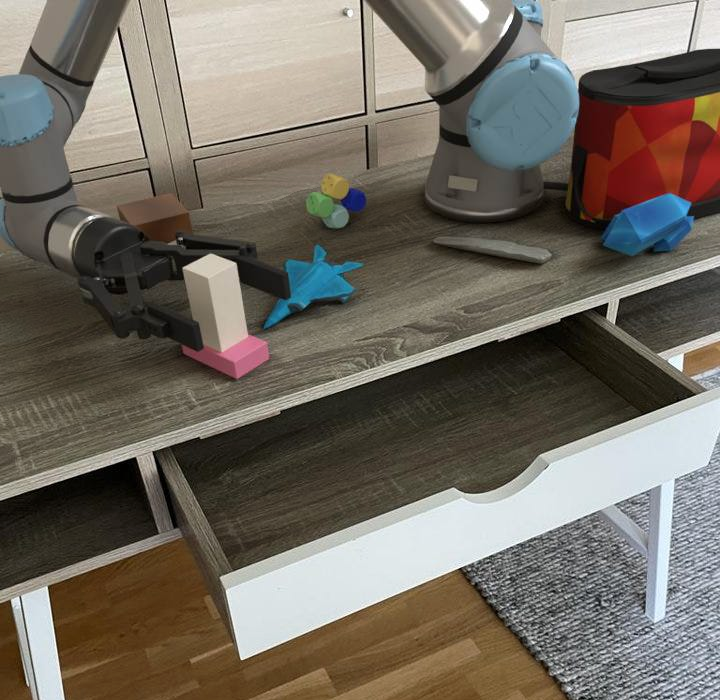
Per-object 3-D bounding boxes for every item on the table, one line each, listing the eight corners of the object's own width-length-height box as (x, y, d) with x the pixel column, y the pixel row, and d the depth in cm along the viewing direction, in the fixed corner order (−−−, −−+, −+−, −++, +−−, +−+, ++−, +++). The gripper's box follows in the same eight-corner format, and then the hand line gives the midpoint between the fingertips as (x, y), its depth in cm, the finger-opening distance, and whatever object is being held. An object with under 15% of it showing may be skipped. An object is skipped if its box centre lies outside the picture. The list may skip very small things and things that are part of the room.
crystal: (719, 244, 96) (624, 289, 95) (673, 229, 103) (585, 271, 103) (709, 179, 92) (610, 226, 91) (662, 169, 99) (571, 212, 99)
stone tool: (558, 245, 99) (544, 256, 96) (557, 257, 100) (542, 268, 96) (446, 228, 105) (428, 238, 101) (445, 240, 106) (428, 250, 102)
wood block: (179, 230, 111) (171, 192, 107) (196, 251, 106) (188, 212, 102) (126, 243, 108) (116, 205, 105) (141, 265, 104) (131, 226, 100)
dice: (356, 211, 112) (353, 162, 108) (369, 217, 110) (366, 167, 106) (306, 230, 109) (301, 179, 104) (318, 236, 107) (313, 186, 103)
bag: (719, 159, 118) (748, 27, 108) (796, 193, 109) (836, 52, 98) (532, 204, 110) (543, 66, 100) (597, 246, 100) (617, 98, 90)
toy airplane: (291, 277, 99) (286, 243, 96) (374, 280, 97) (371, 245, 95) (263, 330, 91) (256, 295, 88) (353, 334, 89) (350, 298, 86)
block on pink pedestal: (269, 359, 86) (256, 267, 80) (237, 379, 84) (220, 286, 77) (215, 334, 90) (199, 245, 84) (183, 353, 88) (163, 263, 81)
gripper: (191, 243, 101) (330, 296, 90) (18, 328, 88) (156, 402, 77) (178, 180, 96) (324, 228, 85) (-6, 260, 83) (137, 328, 72)
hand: (244, 311), depth 81 cm, fingers open, 11 cm apart
